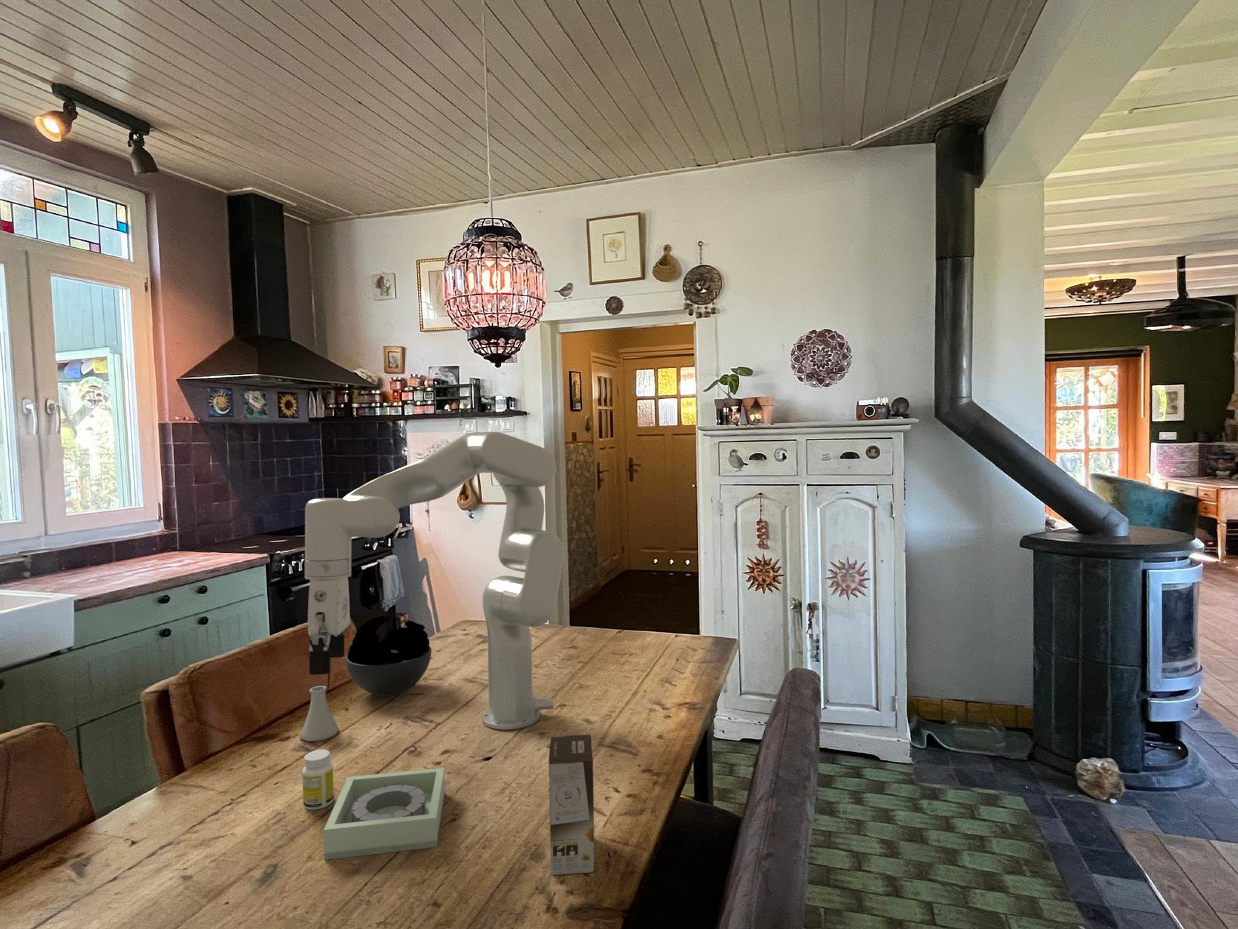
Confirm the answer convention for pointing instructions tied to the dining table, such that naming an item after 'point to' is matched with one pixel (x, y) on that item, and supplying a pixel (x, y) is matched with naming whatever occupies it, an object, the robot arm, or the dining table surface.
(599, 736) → the dining table surface
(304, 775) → the supplement bottle
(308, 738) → the flask
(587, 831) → the coffee box
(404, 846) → the socket box
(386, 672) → the bowl of black rocks
